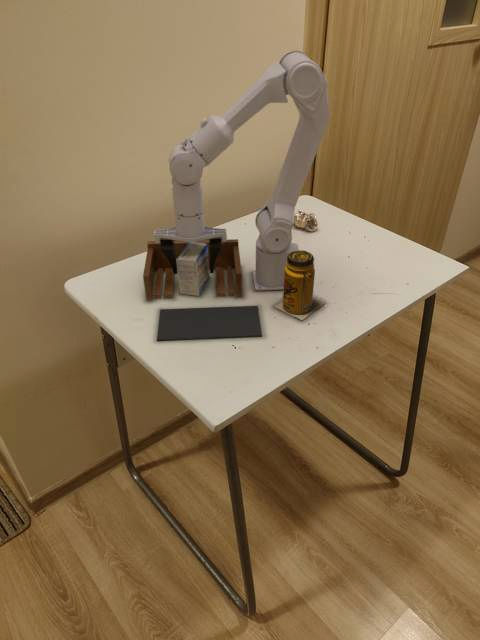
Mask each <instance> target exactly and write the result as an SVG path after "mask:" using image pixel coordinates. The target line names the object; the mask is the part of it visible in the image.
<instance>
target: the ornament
mask: <svg viewBox="0 0 480 640" xmlns="http://www.w3.org/2000/svg"><path fill="white" fill-rule="evenodd" d="M309 224H310V225H309ZM308 225H309V226H308ZM318 225H319V224H318V220H317V217H316V213H314V212H310V213H308V212H307V213H306V212H304V211H302V210H300V209H298V210H297V212H295V214H294V226H296V227H297V228H301V229H305V231H308V232H314V231H316V230H317V228H318Z"/></svg>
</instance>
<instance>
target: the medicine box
mask: <svg viewBox="0 0 480 640" xmlns="http://www.w3.org/2000/svg"><path fill="white" fill-rule="evenodd" d="M176 262H177V279H178V280H177V281H178V287H179V293H180V294H181V295H187V296H195V297H200V295H201V294H202V292H203V290H204V289H205V286H206V285H207V284H208V282H209V279H210V277H211V276H210V270H209V260H208V245H207V244H205V243H198V242H188V244H187V245H186V247H185V248H184V249H183V251H182V252H181V254H180V255H179V256H178V258H177V259H176Z"/></svg>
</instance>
